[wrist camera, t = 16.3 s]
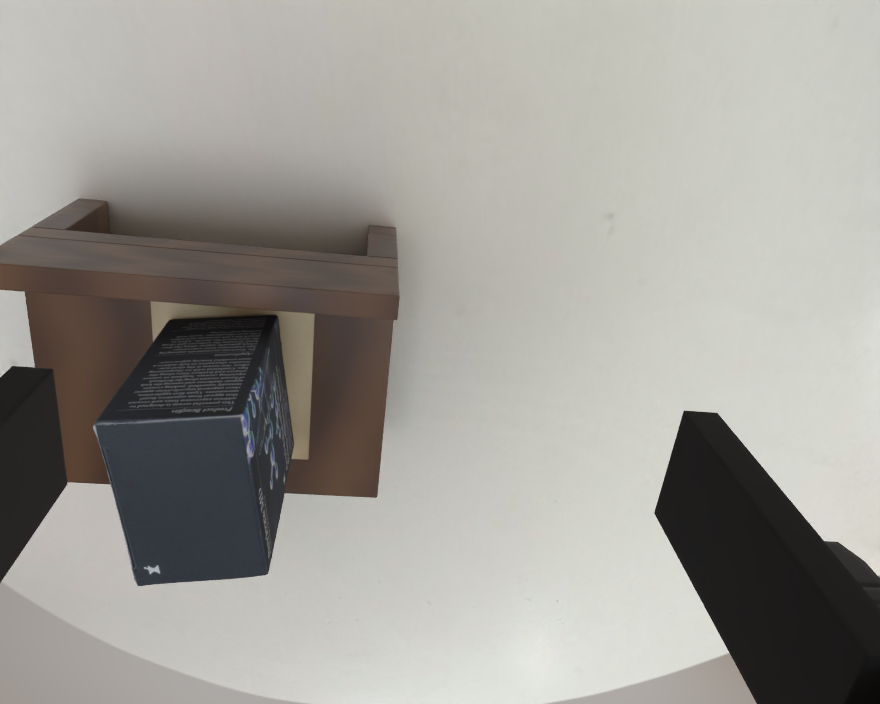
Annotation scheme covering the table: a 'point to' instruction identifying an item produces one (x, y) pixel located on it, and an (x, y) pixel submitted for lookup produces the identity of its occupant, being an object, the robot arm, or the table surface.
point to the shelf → (212, 296)
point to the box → (201, 450)
